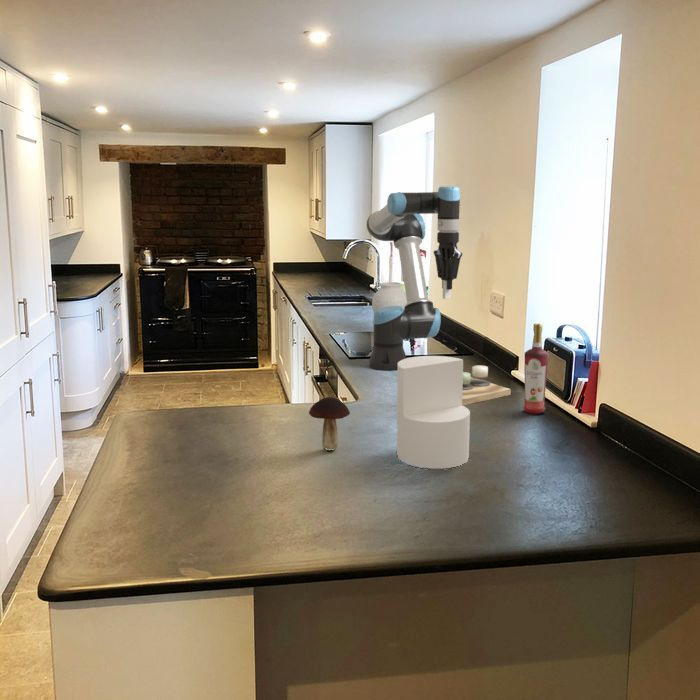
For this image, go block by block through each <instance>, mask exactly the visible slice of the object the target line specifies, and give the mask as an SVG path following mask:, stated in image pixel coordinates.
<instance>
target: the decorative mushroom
mask: <svg viewBox="0 0 700 700" xmlns="http://www.w3.org/2000/svg"><path fill="white" fill-rule="evenodd" d="M308 414H309V416H311V417H312V418H314V419H323V425H322V435H321V436H322V437H321V438H322V439H321V440H322V447H324V448H327V449H334V448H336V449H337V448H338V445H339V437H338V436H339V435H338V427H337V420H338V419H339V420H340V419H344V418H346V417H348V416H349V415H350V414H351V412H350V410H349V408H348V407H347V405H346V404H345V403H344V402H343V401H341V399H338V398H336V397H334V396H327V397H324V398H321V399H319V400H318V401H316V402H315V403H314V404H313V405H311V407H310V409H309V411H308ZM324 448H323V449H324Z"/></svg>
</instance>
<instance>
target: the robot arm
mask: <svg viewBox="0 0 700 700" xmlns="http://www.w3.org/2000/svg"><path fill="white" fill-rule="evenodd" d="M460 190H461V189H460V187H459V186H440V187H438V190H437V191H432V192H431V191H430V192H429V191H426V192H401V191H400V192H392V193H390V194H389V195H388V197H387V199H386V200H387V201H386V205H384V206H383V207H382V208H381V209H380V210H377V211H374V212H373V213H371V214H370V215H369V216H368V218H367V220H366V231H367V232H368V233H369V235H370V236H371V237H373V238H374V239H376V240H378V241H382V242H383V241H384V242H393V246H394V248H395V249H397V250H398V254H399V255H398V256H399V262H400V266H401V272H402V273H401V274H402V279H403V284H404V285H403V286H404V291H405V292H406V298H407V304H406V305H405V307H404V309H403V307H401V306H389V307H384V308H380V309H378V310H376V311H375V313H373V321H372V323H373V346H372V347H373V348H372V350H371V354H370V358H369V360H368V361H369V362H368V364H369V365H368V366H369V367H370V368H372V369H374V370H381V371H395V370H397V371H398V362H399V361H401V360H403V359H406V358H407V356H406V352H405V349H404V340H410V339H413V340H414V339H427V338H434V337H435V336H437V334H439V331H440V328H441V323H442V322H441V321H442V319H441V318H442V316H441V311H440V309H439V308H437V307H435V306H434V302H433V301H432V300H430V299H429V296H428V295H429V294H428V289H427V285H426V284H427V283H426V278H425V272H424V266H423V261H422V253H421V249H420V246H421V244H422V243H423V240H424V239H425V236H426V224H425V223H426V222H425V220H424V218H423V216H422V214H423V215H429V214H430V215H431V214H433V215H435V214H437V231H438V232H436V233H437V236H436V238H437V239H436V242H437V243H438V246H437V247H438V249H436V250H433V255H434V257H435V263H436V265H435V266H436V271H437V277H438V278H440V279H441V289H442V299H443V300H448V299H449V300H450V299H452V290H453V280H457V278H458V274H459V268H460V267H459V266H460V261H461V258H462V256H463V252H459V249H458V245H457V244H458V243H459V241H460V233H459V231H460V209H461V208H460V206H461V205H460V203H461V191H460Z"/></svg>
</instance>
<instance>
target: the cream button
mask: <svg viewBox="0 0 700 700" xmlns="http://www.w3.org/2000/svg"><path fill="white" fill-rule="evenodd" d="M488 374H489V367H488V366H486V365H481V364H480V365H473V366H471V377H473V378H477V379H480V378H487V377H488V376H489V375H488Z"/></svg>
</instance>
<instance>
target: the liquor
mask: <svg viewBox="0 0 700 700" xmlns="http://www.w3.org/2000/svg"><path fill="white" fill-rule="evenodd" d="M543 327H544V326H543V323H533V329H532V330H533V339H532V347H531V348H530V349H528V350H526V351H525V352H524V365H523V366H524V368H523V369H524V402H523V403H524V405H523V406H522V409H524V411H525V412H526V413H527V414H530V415H539V414H542V413H543V412H545V410H546V406H545V398H546V389H547V388H546V386H547V379H548V372H549V371H548V368H549V358H550V353H549V352H548V351H546V350H545V349H543V340H542V339H543V338H542V335H543Z"/></svg>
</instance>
